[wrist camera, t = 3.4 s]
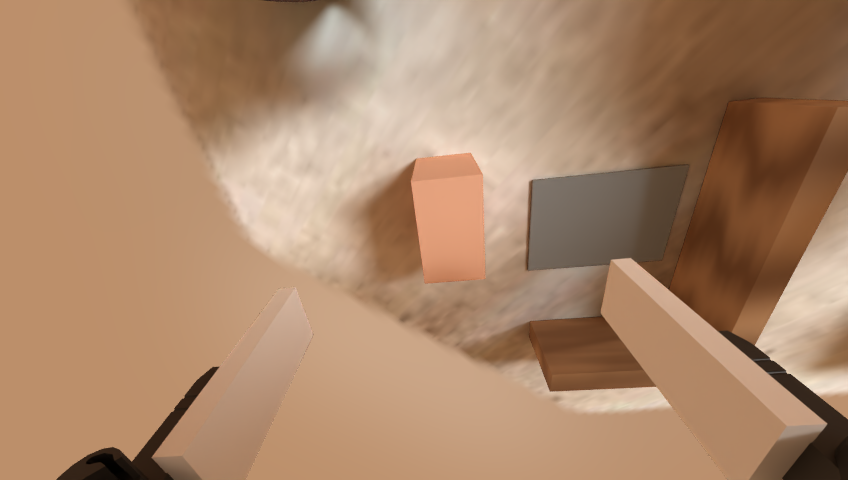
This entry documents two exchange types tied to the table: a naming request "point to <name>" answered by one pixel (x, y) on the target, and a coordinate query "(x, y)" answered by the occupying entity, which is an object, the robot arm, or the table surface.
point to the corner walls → (726, 236)
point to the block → (449, 217)
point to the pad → (603, 217)
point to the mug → (290, 0)
